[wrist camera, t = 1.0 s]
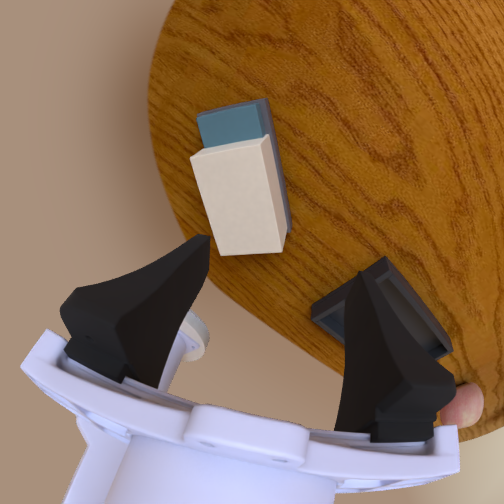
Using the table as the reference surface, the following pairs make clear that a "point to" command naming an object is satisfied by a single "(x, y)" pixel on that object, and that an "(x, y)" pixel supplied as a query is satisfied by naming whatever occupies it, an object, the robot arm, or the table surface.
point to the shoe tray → (402, 302)
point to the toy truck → (242, 179)
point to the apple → (464, 406)
